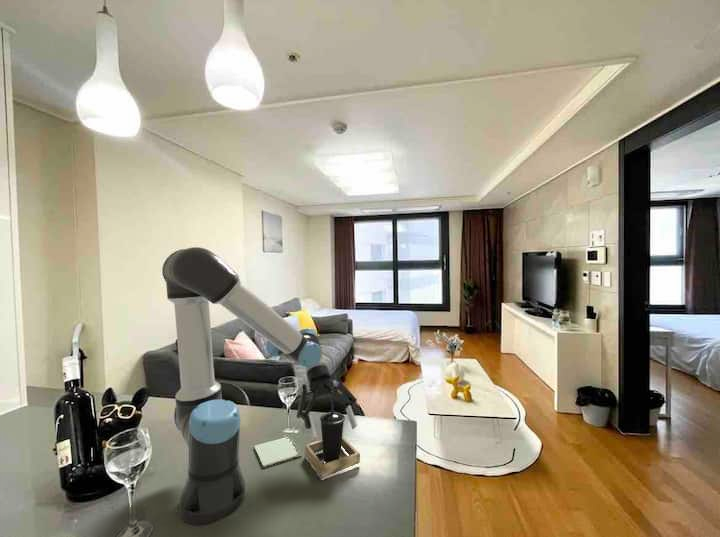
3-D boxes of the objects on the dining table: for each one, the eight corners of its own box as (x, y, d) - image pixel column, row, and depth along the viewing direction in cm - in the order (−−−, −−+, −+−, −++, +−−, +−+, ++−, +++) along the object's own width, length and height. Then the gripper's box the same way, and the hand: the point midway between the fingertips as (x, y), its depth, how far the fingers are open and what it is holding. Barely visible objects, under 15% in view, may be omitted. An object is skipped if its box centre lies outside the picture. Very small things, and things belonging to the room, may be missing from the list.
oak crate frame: (321, 481, 86) (321, 466, 86) (304, 457, 97) (305, 444, 97) (359, 467, 92) (359, 453, 92) (340, 446, 103) (340, 434, 103)
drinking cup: (343, 470, 90) (344, 402, 91) (317, 469, 91) (318, 401, 91) (345, 455, 98) (345, 392, 98) (321, 454, 98) (322, 391, 99)
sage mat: (262, 468, 91) (263, 465, 91) (254, 448, 101) (254, 445, 101) (301, 456, 97) (301, 453, 97) (289, 438, 107) (289, 436, 108)
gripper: (344, 369, 115) (365, 427, 102) (278, 381, 102) (292, 449, 89) (351, 359, 110) (374, 418, 97) (283, 369, 97) (299, 439, 84)
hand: (335, 433), depth 93 cm, fingers open, 13 cm apart
